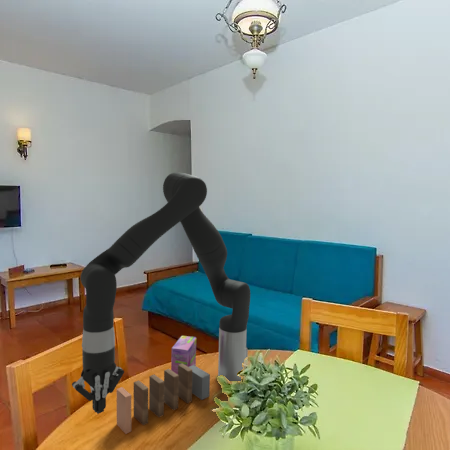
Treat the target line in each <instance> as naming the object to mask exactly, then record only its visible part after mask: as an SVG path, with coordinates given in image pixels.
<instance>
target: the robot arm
mask: <svg viewBox="0 0 450 450" xmlns="http://www.w3.org/2000/svg"><path fill="white" fill-rule="evenodd" d="M162 190H163V191H162V193H163V196H164V198H165V200H166V202H167V203H166V204H164V205H163V206H162V207H161V208H160V209H158V210H157V211H155V212H154V213H153V214H150V215H149V216H147V217H145V218H143V219H141V220H140V221H137V222H136V223H135V224H133V225H131V226H130V227H129V228H128V229H127V230H126V231H124V233H123V234H122V235H121V236H119V238H117V240H115V241H114V242H113V244H111V245H110V246H109V248H107V249H106V250H104V251H103V252H101V253H100V254H99V255H97V256H96V257H94V258H93V259H92V260H90V262H89V263H87V264H86V265H85V267H84V268H83V270H82V271H81V274H80V282H81V284H82V286H83V288H85V294H86V296H85V297H86V298H85V300H86V301H85V303H86V304H85V306H84V307H83V311H82V327H83V328H82V329H83V330H82V337H81V338H82V340H81V341H82V342H81V348H82V349H81V350H82V370H81V373H80V378H79V379H78V380H76V381H73V382H72V384H71V386H72V387H73V389H75V391H76V392H78V393H79V394H80V395H82V397H83V398H85V399H86V400H87V401H89V402H92V403H91V404H92V410H93V412H94V413H96V414H97V415H99V414H101V413H104V411H105V409H106V408H107V396H108V395H109V394H112V393H113V392H114V391H115V389H116V388H117V386H118V384H119V383H120V380H121V379H122V377H123V375H124V373H125V370H124V369H123V368H122V367H120V366H117V364H116V362H115V361H116V353H115V352H116V350H115V349H116V346H115V345H116V336H115V335H116V333H115V327H114V326H115V325H114V324H115V321H114V317H115V316H114V315H115V314H114V313H115V312H114V306H115V303H116V296H117V295H116V294H117V286H118V285H117V278H116V275H117V274H118V273H119V272H120V271H122V270H123V269H124V268H125V269H126V268H130V267H131V266H133V265H134V263H136V262H137V261H138V260H139V259H140V258H141V257H142V256H143V255H144V254H145V253H146V252H147V251H148V250H149V248H150V247H151V246H152V245H154V244H155V243H156V242H157V241H158V239H159V240H160V238H161V237H162V236H163V235H165V234H166V233H168V232H169V230H171V229H173V227H175V226H177V224H179V223H180V224H181V226H182V228H183V231H184V232H185V234H186V236H187V239H188V240H189V243H190V244H191V246H192V250H193V251H194V253H195V256H196V257H197V259H198V261H199V263H200V265H201V266H202V268H203V271H204V273H205V276H206V277H207V280H208V282H209V284H210V289H211V291H212V293H213V295H214V299H215V301H216V302H217V304H218V305H220V306H222V307H226V308H229V309H232V310H231V311H232V312H231V314H227V315H225V316H222V317H220V319H219V328H218V332H219V333H218V367H217V368H218V369H217V370H218V371H217V372H218V373H217V377H218V376H220V375H223V376H225V377H226V378H227V379H228V380H229V381H240V382H242V381H241V377H239V376H237V373H238V372H239V371H241V370H242V369H243V367H242V363H243V362H244V359H245V358H246V357H248V355H249V353H248V352H249V349H248V347H247V332H248V331H247V328H248V326H247V325H248V322H249V316H250V305H251V289H250V286H249V284H248V283H246V282H243V281H239V280H234V279H230V278H229V277H228V275H227V274H226V271H225V268H224V267H225V265H226V262H227V256H228V249H227V247H226V244H225V241H224V240H223V237H222V235H221V234H220V231H219V230H218V229H217V228H216V227H215V225H214V224H213V223H212V222H211V220H210V219H209V218H208V217H207V216H206V215H205V214H204V212H203V211H202V210H201V208H200V207H201V206H202V204H203V203H204V201H205V200H206V199H207V194H208V187H207V183H206V182H205V181H204V180H203V179H202V178H201V177H198V176H196V175H194V174H193V175H192V174H189V173H185V172H179V171H178V172H172V173H170V174H168V175H167V176H166V177H165V179H164V181H163V185H162ZM85 382H86V384H87V385H88V386H89V388H90V392H89V391H88V390H87V389H86V384H85Z"/></svg>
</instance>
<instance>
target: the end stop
mask: <svg viewBox="0 0 450 450" xmlns="http://www.w3.org/2000/svg"><path fill="white" fill-rule="evenodd" d="M189 368H191V369H192V395H194V396H196V397H197V398H199V399H200V400H202V401H203V400H205V399H207V398H209V397H210V393H211V392H210V390H211V389H210V388H211V387H210V386H211V385H210V384H211V383H210V382H211V374H210V373H209V372H207V371H205V370H203V369H201V368H199V366H195V365H192V366H189Z"/></svg>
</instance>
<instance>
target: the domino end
mask: <svg viewBox="0 0 450 450" xmlns="http://www.w3.org/2000/svg"><path fill="white" fill-rule="evenodd" d="M116 425H117V427H118V428H120V430H121V431H122V432H123V433H124V434H125V435H126V434H127V435H128V433H132V393H130V392H128V391H127V390H126V389H125V387H123V386H121V387H118V388H116Z"/></svg>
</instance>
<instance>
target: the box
mask: <svg viewBox="0 0 450 450" xmlns="http://www.w3.org/2000/svg"><path fill="white" fill-rule="evenodd" d="M170 359H171V360H170V362H171V363H170V364H171V367H170V370H172V371H173V372H175V373H176V374H178V365H179V364H182V363H183V364H184V365H186V366H187V367H189V366H192V365H195V366H196V365H197V364H196V363H197V360H196V359H197V337H196V336H189V335H188V336H187V335H181V336H180V337H179V338H178V339H177V341H176V342H175V343H174V345H173V346H172V347H171V358H170ZM196 367H197V366H196Z"/></svg>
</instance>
